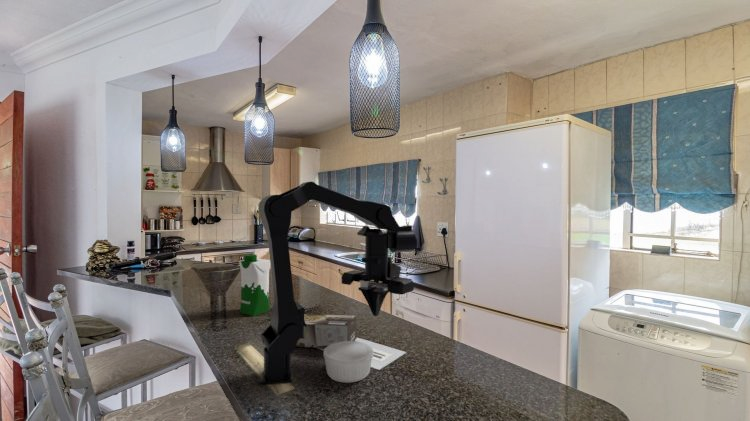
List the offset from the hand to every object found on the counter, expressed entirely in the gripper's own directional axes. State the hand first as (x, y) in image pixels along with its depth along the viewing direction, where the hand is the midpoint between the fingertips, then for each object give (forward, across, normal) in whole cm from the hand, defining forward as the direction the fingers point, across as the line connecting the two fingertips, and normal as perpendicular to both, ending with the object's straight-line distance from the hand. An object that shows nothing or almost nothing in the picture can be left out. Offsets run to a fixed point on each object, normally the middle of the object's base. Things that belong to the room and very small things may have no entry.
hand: (375, 315), depth 89 cm
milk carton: (+10, +54, -3) cm, 55 cm away
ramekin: (+10, -1, +11) cm, 15 cm away
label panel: (+10, +6, 0) cm, 11 cm away
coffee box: (+7, +23, +6) cm, 25 cm away
